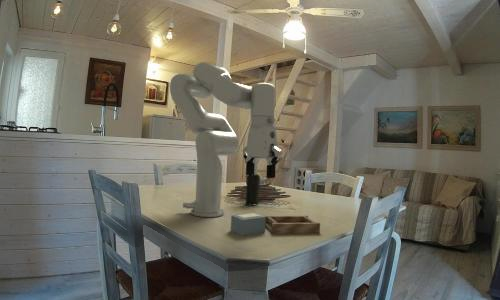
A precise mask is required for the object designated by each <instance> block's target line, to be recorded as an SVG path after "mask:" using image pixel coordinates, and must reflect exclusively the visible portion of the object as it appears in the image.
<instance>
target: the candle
mask: <svg viewBox="0 0 500 300" xmlns="http://www.w3.org/2000/svg"><path fill="white" fill-rule="evenodd" d="M258 159H259V158H256V159H255V160H254V162H253V163H254V164H255V166H254V175H246V193H245V194H246V195H245V205H248V204H257V205H259V201H260V200H259V199H260V185H261V184H260V181H261V176H260V175H259V174H258Z"/></svg>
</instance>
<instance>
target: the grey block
mask: <svg viewBox="0 0 500 300" xmlns="http://www.w3.org/2000/svg"><path fill="white" fill-rule="evenodd" d="M266 216H267V215H263V214H259V213H256V212H249V213H248V212H247V213H240V214H233V215H232V214H231V218H230V220H231V221H230V232H232V231H233V232H232V233H234V232H235V234H236V233H237V235H238V236H241V237H245V236H244V235H246V236H250V235H249V234H251V235H257V234H260V233H265V232H266V227H265V225H266Z"/></svg>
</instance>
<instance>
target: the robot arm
mask: <svg viewBox="0 0 500 300" xmlns="http://www.w3.org/2000/svg"><path fill="white" fill-rule="evenodd" d="M192 70H193V71H192V74H193V75H191V74H187V73H178V74H175V75H174V76H173V77H172V78H171V80H170V82H169V83H170V84H169V92H170V97H171V100H172V101H173V103H174V104H175V106H176V107H177V109H178V110H179V112H180V113H181V115H182V116H183V118H184V121H185V122H186V124H187V126H188V128H189V130H190V131H191V132H192V134H194V135H196V138H195V150H196V181H195V182H196V184H195V185H196V186H195V199H194V200H193V201H191V202H182V208H183V209H190V214H191V215H193V216H196V217H199V218H200V217H202V218H217V217H221V216H223V215H225V210H224V209H222V208H221V201H222V197H221V196H222V186H223V185H222V184H223V183H222V181H223V180H222V179H223V165H222V162H221V159H220V157H222V156H224V157H227V156H229V157H230V156H233V155H234V154H236V153H237V152H238V150H239V147H240V143H239V139H238V137H237V134H236V133H235V131H234V130H233V128H232V126H231V125H230V124H229V122H228V120H227V119H226V118H225V116H223V115H221V114H218V113H213V112H208V111H206V110H205V109H204V108H203V106H202V104H201V103H200V102H199V101H198V100H197V99H196V98H199V99H206V98H209V97H211V96H212V95H213V96H214V98H215V99H217V100H218V101H220V102H221V103H223V104H225V105H227V106H229V107H234V108H240V109H244V110H250V122H249V123H250V124H249V125H250V127H249V130H248V135H247V140H246V141H247V142H246V146H245V147H244V148H242V154H243V159H244V162H245V175H246V176H249V175H254V166H255V164H254V163H253V162H254V160H255V159H256V158H258V159H265V160H266V162H267V165H266V178H267V179H275V178H276V166H277V165H278V162H280V159H281V156H282V154H283V151H282V150H281V149H280V148H279V147H278V136H277V134H278V133H277V129H276V127H275V122H276V119H275V107H276V106H275V105H276V104H275V103H276V102H275V101H276V87H275V86H274V85H273V84H272V83H268V82H258V83H255V84H253V85H252V86H248V85H244V84H242V83H241V84H240V83H238V82H234V81H232V77H231V76H230V73H229V72H228V70H227V69H226V68H224V67H223V66H219V65H216V64H212V63H210V62H203V61H202V62H199V63H197V64H196V65H195V66H194V68H193V69H192ZM219 156H220V157H219Z"/></svg>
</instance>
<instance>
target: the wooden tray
mask: <svg viewBox="0 0 500 300" xmlns="http://www.w3.org/2000/svg"><path fill="white" fill-rule="evenodd" d="M265 216H266V225H265V229H267V230H268V231H269V232H270V233H271V234H272V235H273V234H274V235H275V234H277V235H278V234H310V233H311V234H319V233H321V231H320V230H321V222H316V221H314V220H312V219H311V218H309V215H265Z"/></svg>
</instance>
